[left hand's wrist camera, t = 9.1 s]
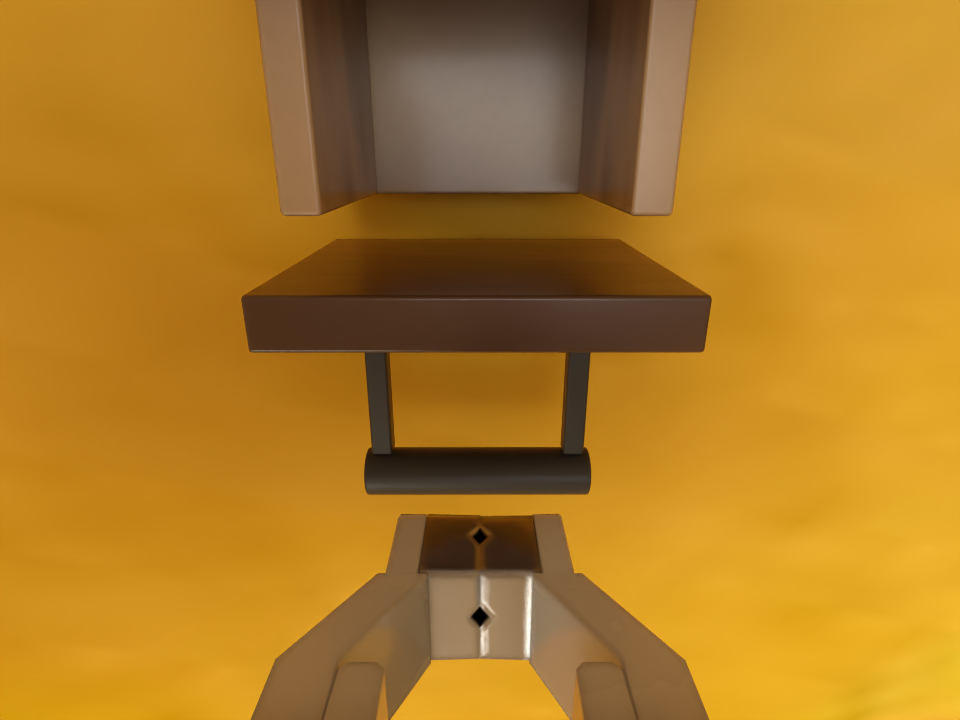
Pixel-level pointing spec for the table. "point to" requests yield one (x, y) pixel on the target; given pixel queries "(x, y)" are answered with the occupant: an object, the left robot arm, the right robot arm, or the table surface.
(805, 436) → the table surface
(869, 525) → the table surface
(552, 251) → the drawer
